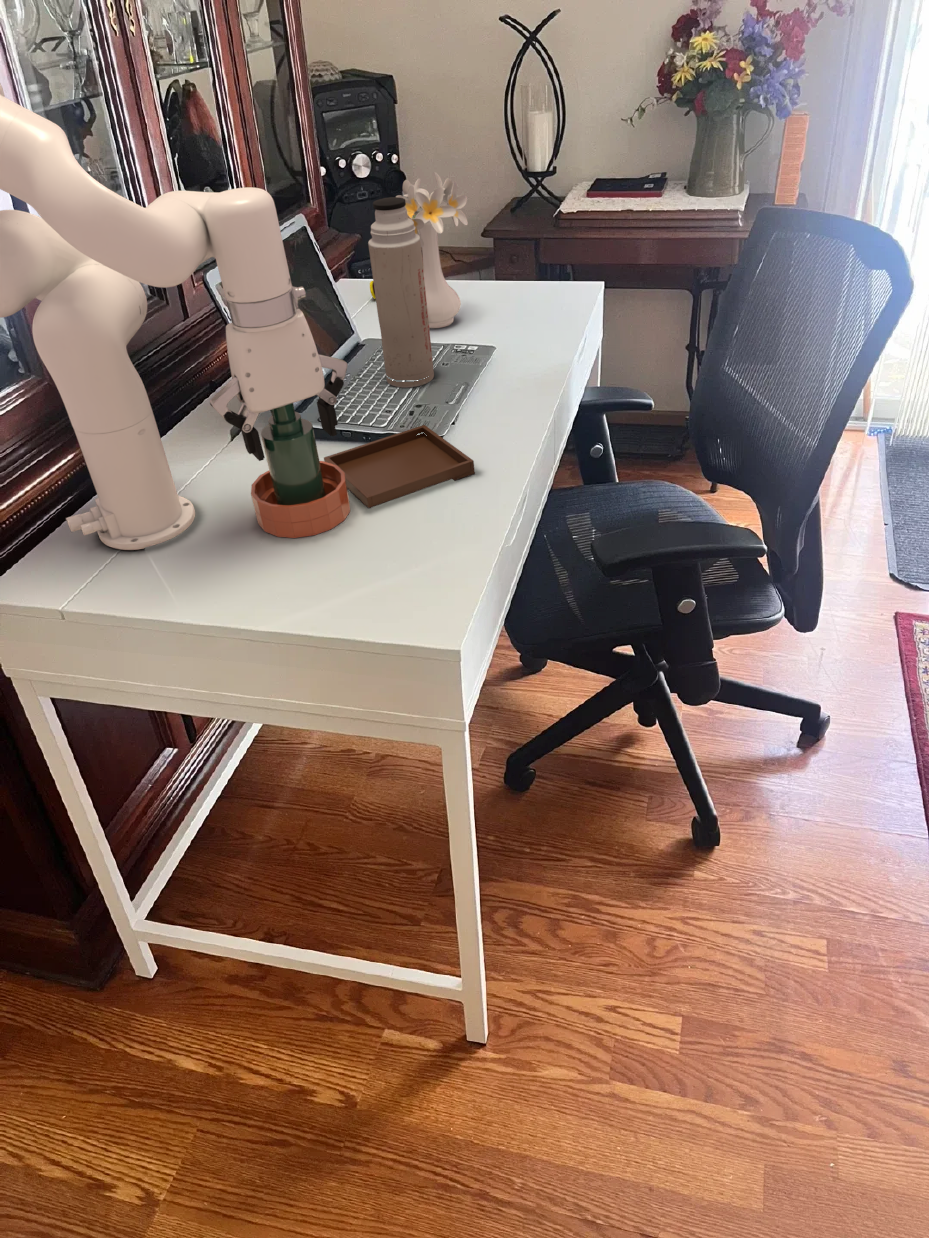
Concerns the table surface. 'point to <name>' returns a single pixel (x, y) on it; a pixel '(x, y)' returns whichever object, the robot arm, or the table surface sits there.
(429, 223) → the flower vase
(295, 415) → the bottle
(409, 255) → the thermos bottle
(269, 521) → the bowl
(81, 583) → the table surface
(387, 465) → the tray
